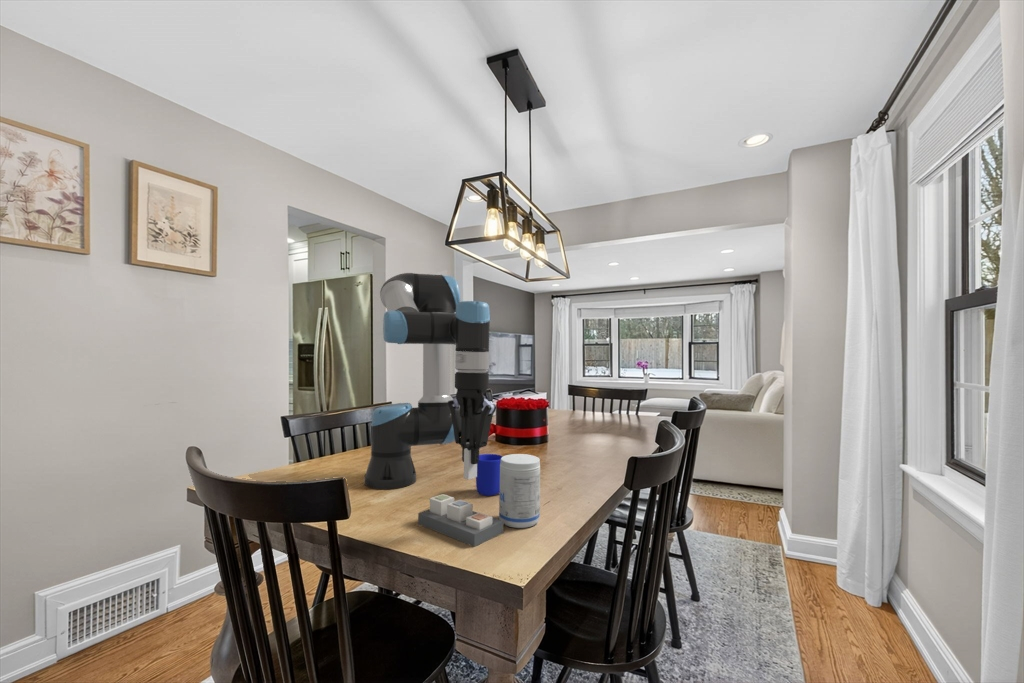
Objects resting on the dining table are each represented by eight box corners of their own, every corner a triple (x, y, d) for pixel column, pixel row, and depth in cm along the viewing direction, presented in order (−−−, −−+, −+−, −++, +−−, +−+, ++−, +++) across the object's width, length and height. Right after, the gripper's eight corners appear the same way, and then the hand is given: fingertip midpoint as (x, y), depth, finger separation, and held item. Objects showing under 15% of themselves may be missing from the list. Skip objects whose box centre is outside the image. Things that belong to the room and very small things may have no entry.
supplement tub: (494, 515, 104) (495, 454, 104) (531, 511, 107) (531, 452, 107) (505, 531, 95) (506, 464, 95) (546, 527, 98) (546, 461, 98)
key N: (429, 512, 100) (429, 497, 100) (442, 507, 103) (442, 493, 103) (441, 516, 98) (441, 501, 98) (454, 511, 101) (454, 496, 101)
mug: (516, 498, 117) (517, 461, 117) (472, 497, 117) (473, 460, 117) (517, 488, 125) (517, 454, 125) (475, 488, 125) (476, 453, 125)
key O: (465, 532, 92) (466, 516, 93) (478, 527, 96) (479, 511, 96) (479, 537, 90) (479, 521, 90) (492, 531, 93) (492, 516, 93)
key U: (447, 518, 96) (447, 503, 96) (460, 513, 99) (460, 498, 99) (459, 523, 94) (459, 507, 94) (472, 517, 97) (472, 502, 97)
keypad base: (418, 524, 99) (418, 512, 99) (447, 512, 106) (447, 502, 106) (474, 546, 87) (474, 534, 87) (503, 532, 94) (503, 521, 94)
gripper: (439, 370, 97) (437, 475, 96) (482, 373, 89) (480, 488, 88) (463, 369, 103) (461, 468, 102) (505, 371, 94) (503, 479, 94)
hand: (470, 477), depth 95 cm, fingers closed
